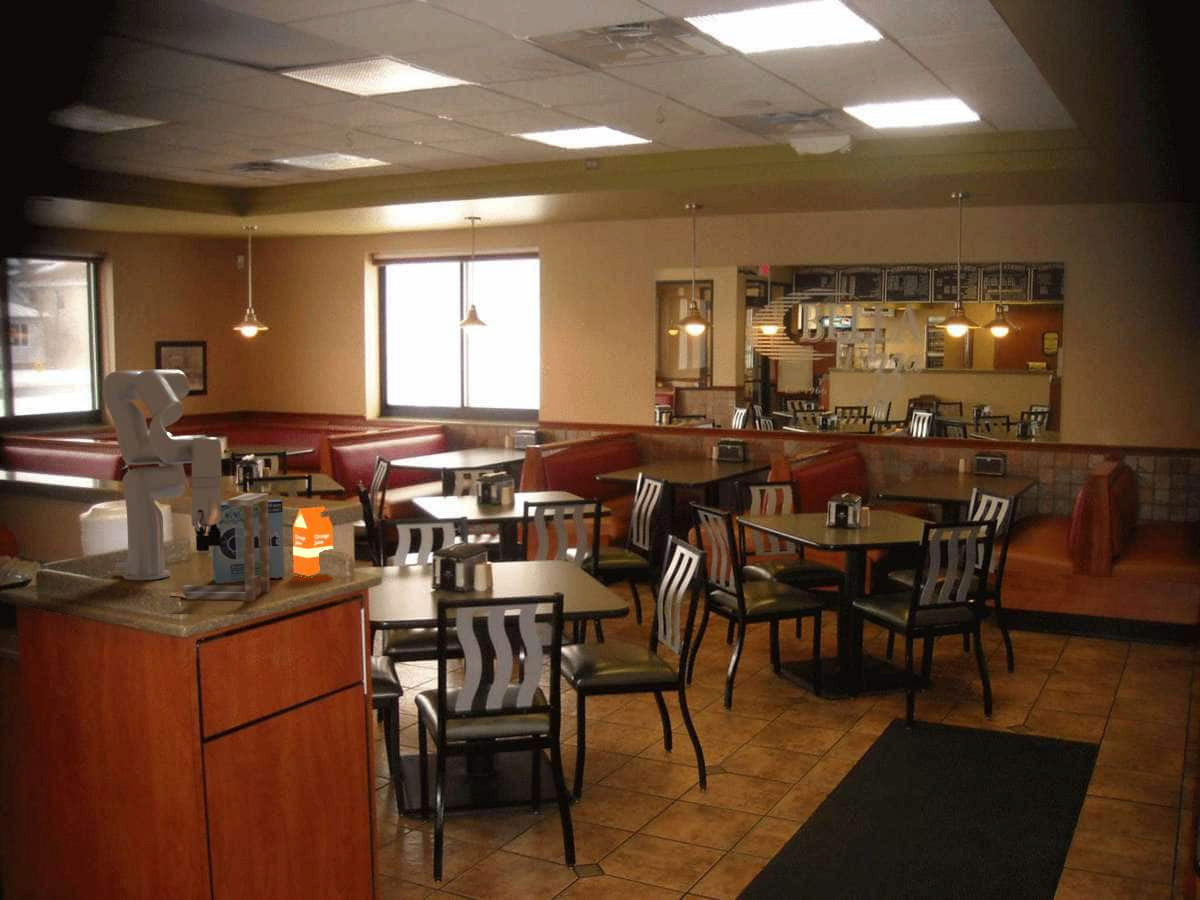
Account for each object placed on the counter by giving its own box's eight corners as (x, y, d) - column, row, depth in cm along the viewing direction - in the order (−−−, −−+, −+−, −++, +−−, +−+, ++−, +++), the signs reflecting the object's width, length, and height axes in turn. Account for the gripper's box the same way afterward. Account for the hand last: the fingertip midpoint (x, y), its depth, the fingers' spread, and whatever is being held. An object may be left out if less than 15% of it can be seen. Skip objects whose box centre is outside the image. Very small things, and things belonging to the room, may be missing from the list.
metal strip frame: (165, 601, 294) (162, 499, 292) (188, 589, 309) (185, 493, 307) (252, 601, 294) (250, 499, 292) (270, 590, 309) (268, 493, 307)
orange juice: (333, 573, 334) (332, 507, 332) (308, 578, 327) (306, 510, 326) (318, 570, 339) (317, 505, 337) (293, 574, 332) (291, 508, 331)
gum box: (281, 575, 331) (279, 498, 329) (285, 578, 326) (283, 500, 325) (212, 581, 322) (210, 502, 320) (215, 584, 317) (214, 504, 315)
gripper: (205, 479, 308) (207, 543, 309) (179, 486, 291) (181, 553, 292) (232, 479, 308) (234, 543, 309) (208, 486, 290) (210, 553, 292)
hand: (208, 547), depth 300 cm, fingers open, 7 cm apart
